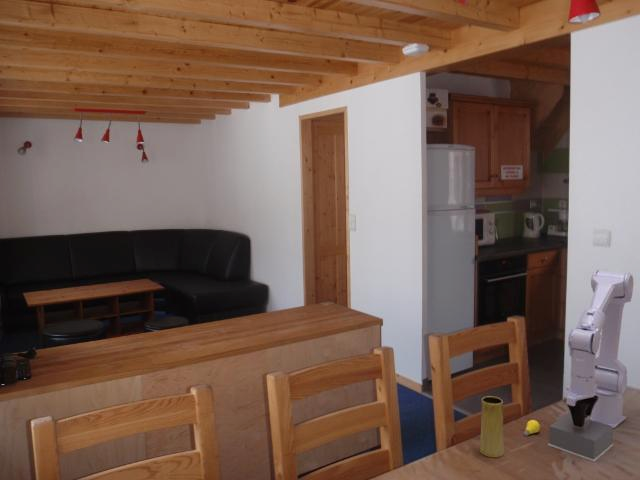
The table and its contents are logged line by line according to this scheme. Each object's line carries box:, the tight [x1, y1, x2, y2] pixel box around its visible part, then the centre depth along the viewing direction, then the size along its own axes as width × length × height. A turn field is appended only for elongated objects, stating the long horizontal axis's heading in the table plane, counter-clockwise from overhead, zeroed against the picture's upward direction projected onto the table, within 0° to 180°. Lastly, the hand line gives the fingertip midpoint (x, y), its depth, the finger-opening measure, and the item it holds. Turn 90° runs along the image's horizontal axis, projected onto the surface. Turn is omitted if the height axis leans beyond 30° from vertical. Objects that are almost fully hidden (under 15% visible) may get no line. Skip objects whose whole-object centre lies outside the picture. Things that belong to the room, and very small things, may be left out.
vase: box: [479, 395, 505, 458], centre depth 143 cm, size 6×6×14 cm
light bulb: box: [523, 419, 541, 437], centre depth 154 cm, size 3×6×4 cm, turn 126°
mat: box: [547, 442, 614, 462], centre depth 146 cm, size 12×12×1 cm
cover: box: [548, 412, 614, 459], centre depth 146 cm, size 12×12×8 cm
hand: (581, 423), depth 145 cm, fingers open, 3 cm apart
